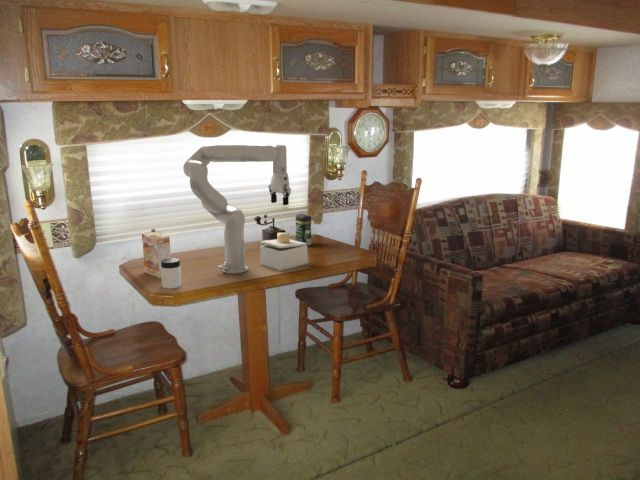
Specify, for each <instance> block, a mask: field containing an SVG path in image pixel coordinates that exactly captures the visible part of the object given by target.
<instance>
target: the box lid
mask: <svg viewBox="0 0 640 480" xmlns="http://www.w3.org/2000/svg"><path fill="white" fill-rule="evenodd" d="M259 244H266V245H270V246H273V247H277V248H288V247H297V246H306V245H308V243H305V242H301V241H296V239H291V238H290V243H278V242H277V239H276V240H266V241H262V240H260V241H259Z"/></svg>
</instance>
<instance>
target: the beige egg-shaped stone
mask: <svg viewBox="0 0 640 480" xmlns="http://www.w3.org/2000/svg"><path fill="white" fill-rule="evenodd" d="M290 239H291V233H289V232H285V233H277V242H278V243H290Z"/></svg>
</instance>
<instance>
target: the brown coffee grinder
mask: <svg viewBox="0 0 640 480" xmlns="http://www.w3.org/2000/svg"><path fill="white" fill-rule="evenodd" d="M253 219H254V221H255V222H256V225H258V226H259V225H260V226H267V225H269V227H267V228H264V229H261V239H262V240H261V241H266V240H276V239H277V233H286V230H285V229H283V228H279V227H277V226H275V220H276V219H275V217H272V220H271V221H269V222H266V223H262V222H261V220H262V217H261V216H259V215H256V216H255V217H254V218H253ZM270 224H272V225H270ZM261 244H262V243H261ZM263 245H266V244H262V245H261V246H263Z"/></svg>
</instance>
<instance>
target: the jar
mask: <svg viewBox="0 0 640 480" xmlns="http://www.w3.org/2000/svg"><path fill="white" fill-rule="evenodd" d="M181 272H182V268H181V261H180V258H174V257H171V258H169V259H164V260H162V261H161V277H162V278H161V287H163V289H167V288H169V289H168V290H172V288H173V289H178V288H181V286H182V273H181Z"/></svg>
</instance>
